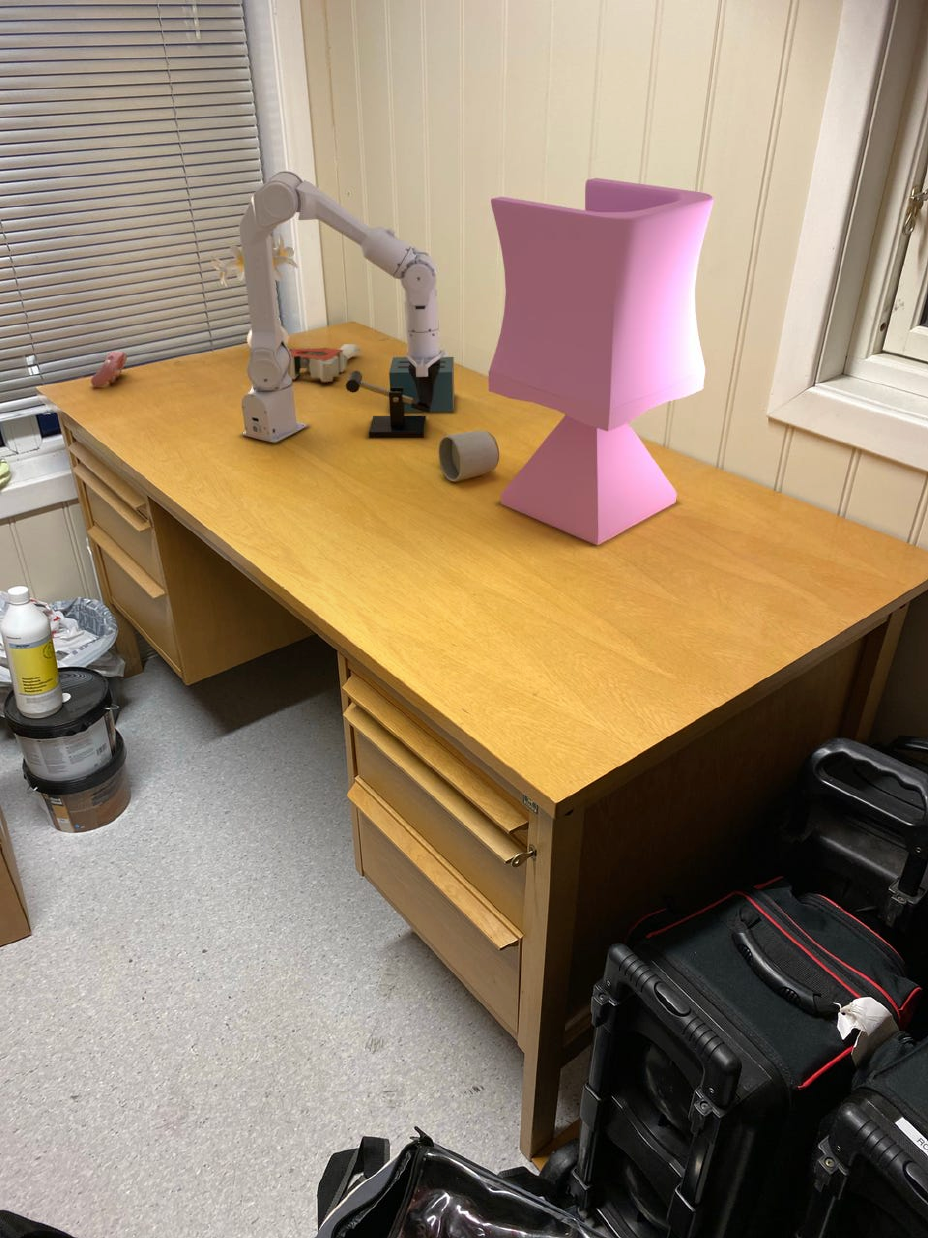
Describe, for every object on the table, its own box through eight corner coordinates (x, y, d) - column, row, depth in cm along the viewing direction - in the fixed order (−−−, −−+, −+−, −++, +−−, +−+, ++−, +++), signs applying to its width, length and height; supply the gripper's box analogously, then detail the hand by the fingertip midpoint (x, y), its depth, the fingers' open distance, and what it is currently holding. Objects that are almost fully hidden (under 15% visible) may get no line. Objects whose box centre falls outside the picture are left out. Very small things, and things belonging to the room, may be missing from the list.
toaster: (391, 412, 184) (388, 371, 180) (395, 396, 192) (392, 356, 187) (453, 412, 184) (452, 371, 179) (454, 395, 191) (453, 356, 187)
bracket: (369, 438, 174) (366, 397, 169) (373, 421, 180) (370, 382, 176) (423, 437, 173) (422, 397, 169) (426, 421, 180) (424, 381, 176)
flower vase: (217, 356, 214) (199, 239, 200) (289, 339, 223) (276, 227, 210) (244, 371, 205) (226, 249, 192) (318, 353, 215) (306, 236, 201)
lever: (344, 390, 170) (347, 377, 169) (347, 380, 174) (351, 368, 173) (427, 418, 173) (431, 406, 172) (428, 408, 177) (432, 396, 176)
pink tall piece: (578, 461, 164) (595, 177, 139) (688, 502, 150) (728, 195, 125) (488, 503, 151) (488, 198, 126) (599, 552, 137) (623, 220, 113)
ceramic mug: (502, 476, 159) (502, 433, 155) (461, 488, 155) (460, 444, 151) (468, 456, 166) (467, 414, 162) (428, 467, 163) (426, 424, 159)
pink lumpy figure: (110, 395, 198) (118, 365, 195) (88, 385, 197) (96, 355, 194) (125, 379, 207) (133, 350, 203) (104, 369, 206) (112, 341, 202)
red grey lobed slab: (357, 360, 215) (270, 368, 207) (356, 336, 212) (268, 343, 204) (384, 380, 201) (292, 389, 193) (384, 355, 198) (291, 363, 191)
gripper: (443, 339, 160) (446, 416, 168) (446, 315, 172) (449, 387, 180) (401, 340, 160) (407, 417, 168) (407, 316, 172) (412, 388, 180)
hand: (426, 402), depth 174 cm, fingers closed, pressing on lever
